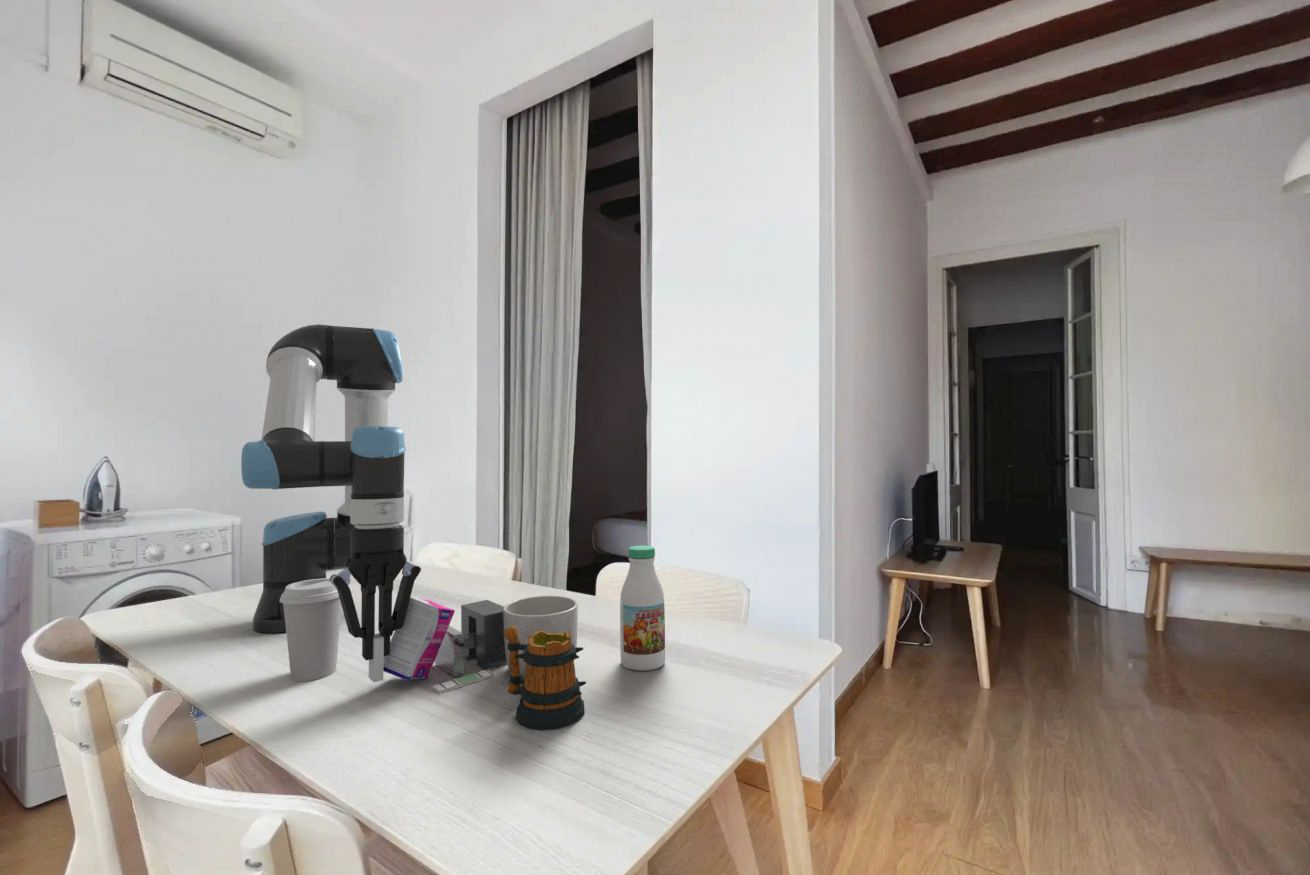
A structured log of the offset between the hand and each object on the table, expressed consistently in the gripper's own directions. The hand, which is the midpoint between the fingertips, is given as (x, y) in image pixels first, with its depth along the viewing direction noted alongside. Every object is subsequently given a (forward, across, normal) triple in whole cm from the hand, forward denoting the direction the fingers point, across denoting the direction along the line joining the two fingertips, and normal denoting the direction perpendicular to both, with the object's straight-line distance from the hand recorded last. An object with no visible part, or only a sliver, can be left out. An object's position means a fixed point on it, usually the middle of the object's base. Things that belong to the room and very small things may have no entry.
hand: (375, 678), depth 87 cm
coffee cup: (+2, -5, +15) cm, 16 cm away
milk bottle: (+2, +37, -20) cm, 42 cm away
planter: (+2, +23, -10) cm, 25 cm away
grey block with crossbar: (+2, +17, -1) cm, 17 cm away
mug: (+2, +15, -24) cm, 28 cm away
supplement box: (+1, +4, 0) cm, 4 cm away
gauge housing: (+2, +18, 0) cm, 18 cm away
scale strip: (+2, +12, -6) cm, 13 cm away
